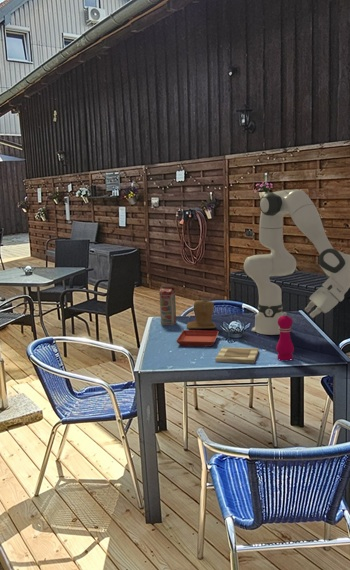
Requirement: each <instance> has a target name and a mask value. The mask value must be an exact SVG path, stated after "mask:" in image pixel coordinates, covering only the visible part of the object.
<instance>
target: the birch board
mask: <svg viewBox="0 0 350 570" xmlns="http://www.w3.org/2000/svg"><path fill="white" fill-rule="evenodd" d="M258 354H259V348H256V347H255V348H254V347H232V346H229V347H228V346H222V347H221V349H220V350H219V352H218V353H217V355H216V356H215V363H216V362H217V363H218V362H219V363H234V364H236V363H237V364H240V363H241V364H253V363H254V364H255V362H256V359H257V357H258Z"/></svg>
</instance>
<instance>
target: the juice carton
mask: <svg viewBox="0 0 350 570" xmlns="http://www.w3.org/2000/svg"><path fill="white" fill-rule="evenodd" d="M158 292H159V311H160V312H159V313H160V325H161V326H174V325H175V324H176V323H177V307H176V306H177V305H176V304H177V303H176V289H175V287H174V285H173V284H171V283H167V284H166V283H162V284H160V289H159V291H158Z"/></svg>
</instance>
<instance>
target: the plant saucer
mask: <svg viewBox="0 0 350 570" xmlns="http://www.w3.org/2000/svg"><path fill="white" fill-rule="evenodd" d="M219 332H220V331H218V330H196V329H187V330H185V329H184V330H182V331H181V332H180V334H179V336H178V337H177V338H176V340H175V341H176V342H177V344H178V345H179V346H190V347H212V346H213V345H214V344H215V342H216V339H217V338H218V335H219Z"/></svg>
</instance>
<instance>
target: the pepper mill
mask: <svg viewBox="0 0 350 570" xmlns="http://www.w3.org/2000/svg"><path fill="white" fill-rule="evenodd" d="M278 325H279V326H280V327H279V331H280V334H279V339H278V342H277V343H276V347H275V348H276V349H275V350H276V352H277V353H278V354H277V360H278V359H280V360H279V361H281V360H290V359H292V360H293V358H294V355H293V352H294V351H295V346H294V343H293V342H292V339H291V332H292V327H291V326H293V319H292V317H291V316H288V312H286V311H285V312H283V316H281V317H280V318H279V319H278Z"/></svg>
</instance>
